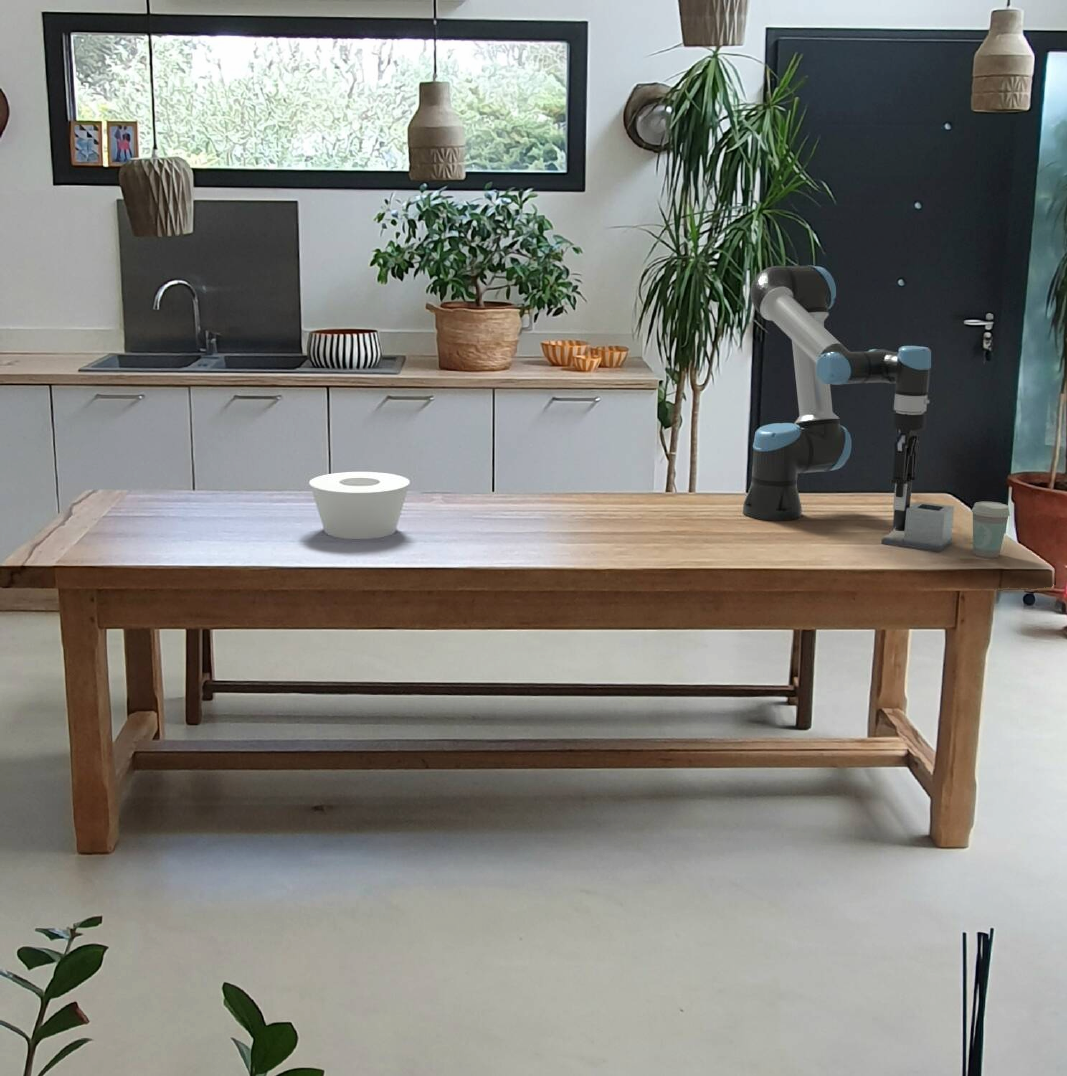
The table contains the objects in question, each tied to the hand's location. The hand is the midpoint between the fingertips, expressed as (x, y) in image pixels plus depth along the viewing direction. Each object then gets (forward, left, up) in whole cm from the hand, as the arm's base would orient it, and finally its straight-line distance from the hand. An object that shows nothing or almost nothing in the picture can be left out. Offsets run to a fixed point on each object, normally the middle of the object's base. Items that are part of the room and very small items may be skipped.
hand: (901, 507), depth 326 cm
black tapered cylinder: (0, 0, -5) cm, 5 cm away
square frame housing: (+4, 0, -8) cm, 9 cm away
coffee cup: (+21, -1, -8) cm, 23 cm away
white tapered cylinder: (-113, -67, -8) cm, 131 cm away
